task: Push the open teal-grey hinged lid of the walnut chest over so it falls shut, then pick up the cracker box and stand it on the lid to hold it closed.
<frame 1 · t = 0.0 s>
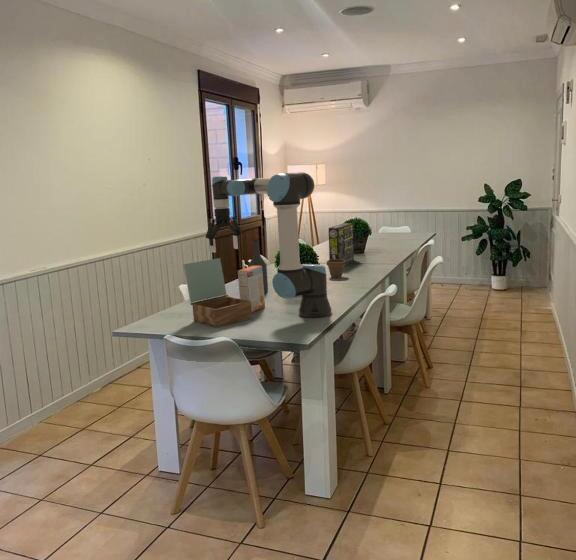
hand: (225, 250, 293), 28 cm above the table, fingers open, 13 cm apart
bottle: (259, 292, 324), on the table
cracker box: (253, 310, 284), on the table
box: (342, 264, 401), on the table
flower pot: (336, 277, 356), on the table
lid: (205, 279, 274), point 17 cm above the table, hinge at 100.0°
walnut chest: (223, 319, 269), on the table
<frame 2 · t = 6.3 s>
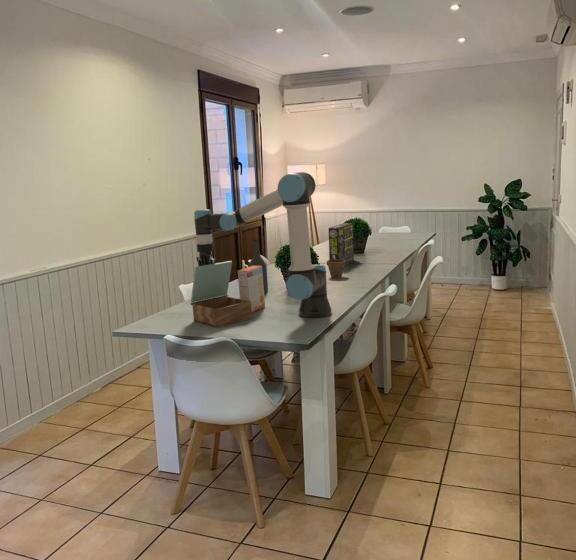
hand: (208, 292, 274), 11 cm above the table, fingers closed
lid: (211, 281, 270), point 17 cm above the table, hinge at 69.0°, touching gripper
everything else where it was.
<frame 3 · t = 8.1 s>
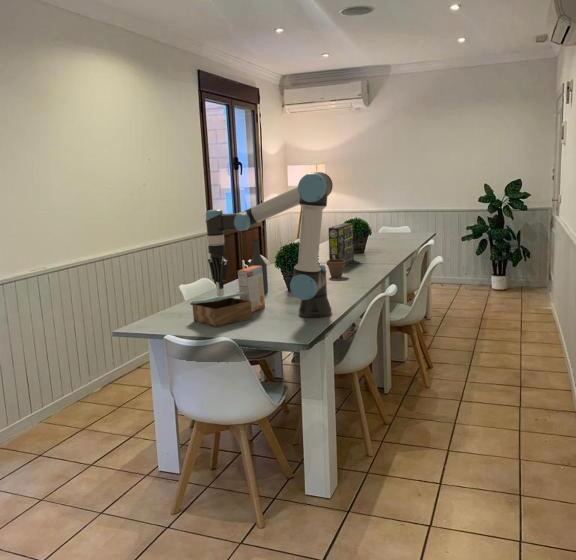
hand: (220, 295, 267), 11 cm above the table, fingers closed
lid: (220, 297, 267), point 10 cm above the table, hinge at 10.8°
everything else where it was.
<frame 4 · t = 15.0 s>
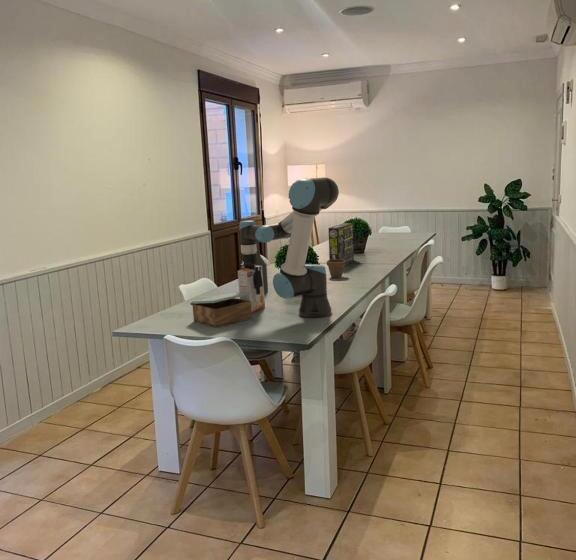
hand: (252, 299, 283), 5 cm above the table, fingers closed on cracker box, 7 cm apart
cracker box: (253, 310, 284), on the table, touching gripper
lid: (221, 297, 267), point 10 cm above the table, hinge at 9.1°
everything else where it was.
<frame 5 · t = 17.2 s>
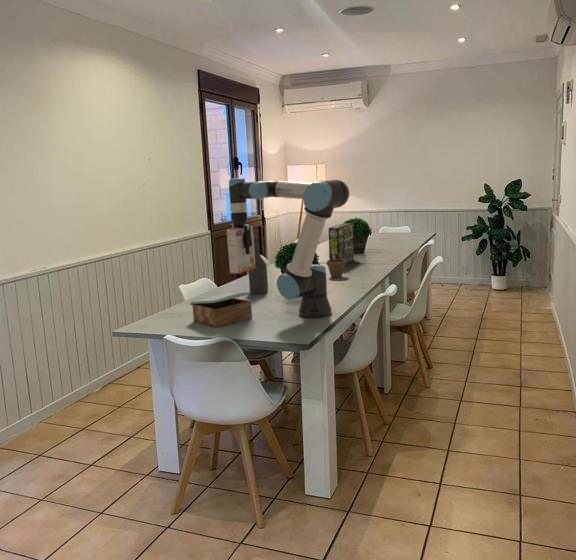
hand: (242, 260, 275), 25 cm above the table, fingers closed on cracker box, 7 cm apart
cracker box: (242, 271, 276), point 20 cm above the table, touching gripper
everything else where it was.
when the fingers open (16 cm above the table, at t = 19.8 s): cracker box stays where it is, resting on lid.
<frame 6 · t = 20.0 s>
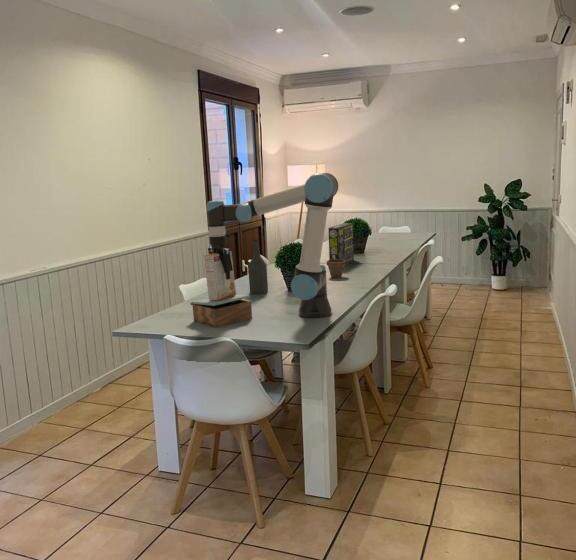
hand: (221, 285, 265), 16 cm above the table, fingers open, 8 cm apart
cracker box: (222, 298, 266), point 10 cm above the table, touching gripper, lid
lid: (221, 299, 267), point 10 cm above the table, hinge at 5.1°, touching cracker box
everything else where it was.
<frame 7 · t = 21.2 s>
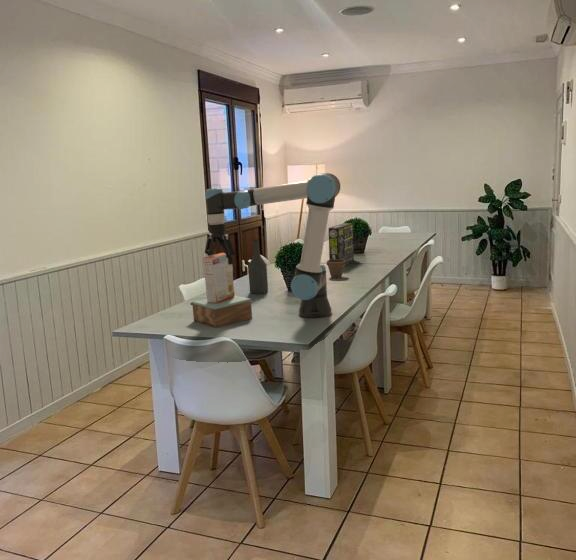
hand: (221, 270, 264), 23 cm above the table, fingers open, 13 cm apart
cracker box: (220, 300, 268), point 9 cm above the table, touching lid
lid: (221, 301, 267), point 9 cm above the table, hinge at -0.1°, touching cracker box
everything else where it was.
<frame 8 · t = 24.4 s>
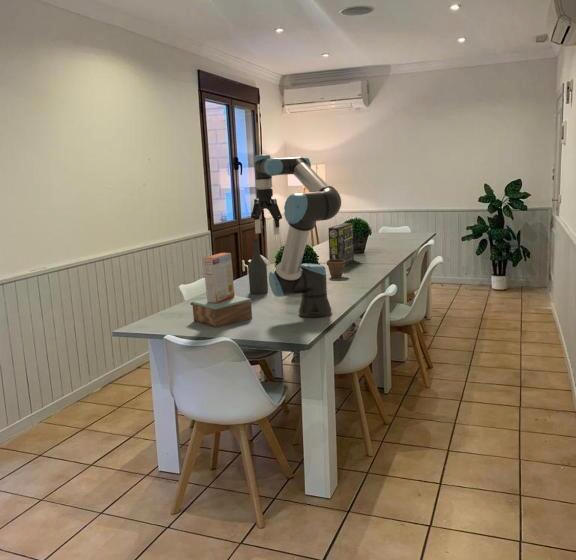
hand: (267, 233, 277), 37 cm above the table, fingers open, 13 cm apart
nothing on the table moved.
at the end: lid at +0° (first picture: +100°); cracker box 0.9 cm from the walnut chest (horizontally); cracker box tilted 0° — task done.
